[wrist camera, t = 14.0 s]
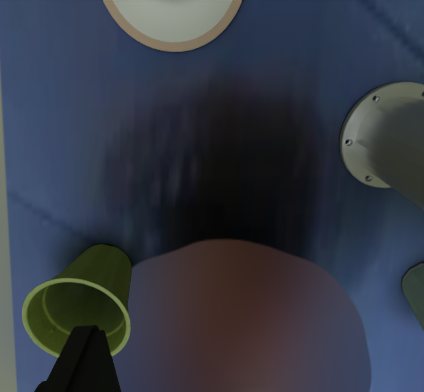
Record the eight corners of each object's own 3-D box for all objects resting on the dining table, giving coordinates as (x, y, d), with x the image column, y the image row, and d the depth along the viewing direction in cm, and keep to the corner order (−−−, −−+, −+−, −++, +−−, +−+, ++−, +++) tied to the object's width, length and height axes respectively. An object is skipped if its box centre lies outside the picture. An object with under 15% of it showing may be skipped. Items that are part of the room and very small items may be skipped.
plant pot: (86, 212, 44) (49, 259, 34) (163, 256, 47) (150, 313, 37) (48, 274, 48) (3, 334, 37) (121, 312, 51) (98, 378, 40)
